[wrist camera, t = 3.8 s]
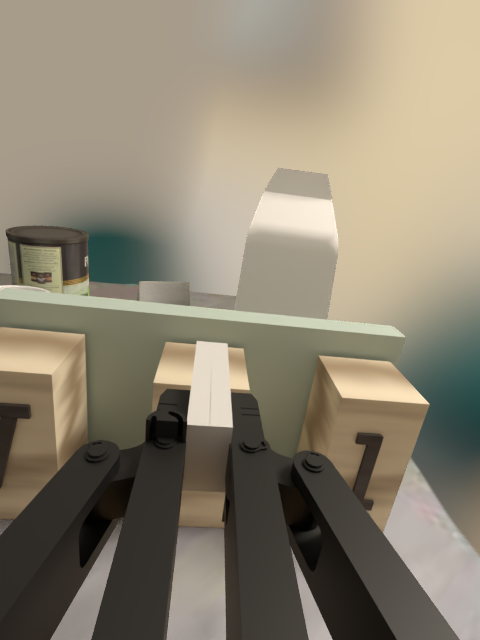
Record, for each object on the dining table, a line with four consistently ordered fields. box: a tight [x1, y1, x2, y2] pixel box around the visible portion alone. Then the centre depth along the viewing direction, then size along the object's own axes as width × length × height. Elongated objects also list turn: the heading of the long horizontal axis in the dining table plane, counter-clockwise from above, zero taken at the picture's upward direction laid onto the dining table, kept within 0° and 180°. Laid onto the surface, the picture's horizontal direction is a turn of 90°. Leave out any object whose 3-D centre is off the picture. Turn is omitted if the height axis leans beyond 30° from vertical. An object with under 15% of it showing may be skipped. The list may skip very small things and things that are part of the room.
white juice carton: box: [137, 281, 190, 306], centre depth 52 cm, size 4×7×10 cm, turn 111°
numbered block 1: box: [297, 356, 429, 533], centre depth 29 cm, size 6×6×12 cm
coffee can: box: [6, 226, 89, 296], centre depth 54 cm, size 10×10×14 cm
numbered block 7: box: [0, 327, 88, 519], centre depth 27 cm, size 6×6×12 cm
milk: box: [234, 168, 338, 320], centre depth 48 cm, size 12×12×26 cm
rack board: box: [0, 288, 406, 459], centre depth 32 cm, size 2×32×14 cm, turn 93°
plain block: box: [152, 342, 250, 528], centre depth 28 cm, size 6×6×12 cm
